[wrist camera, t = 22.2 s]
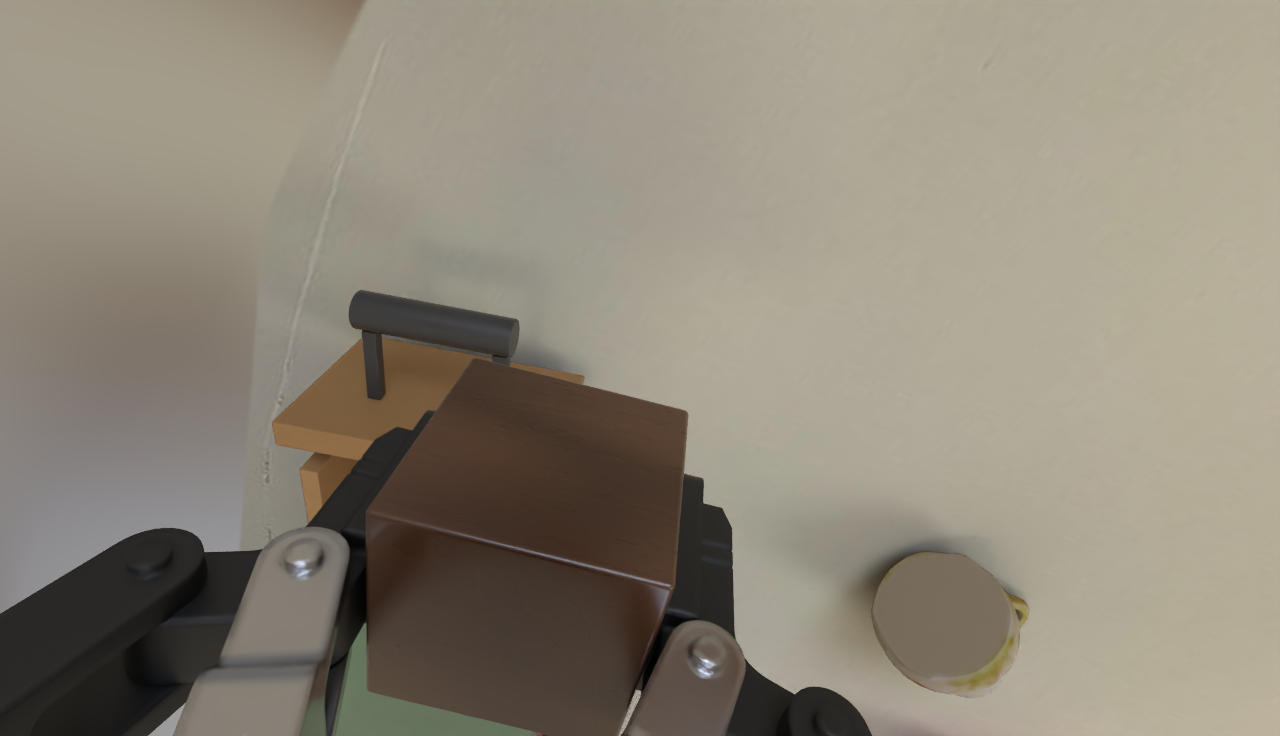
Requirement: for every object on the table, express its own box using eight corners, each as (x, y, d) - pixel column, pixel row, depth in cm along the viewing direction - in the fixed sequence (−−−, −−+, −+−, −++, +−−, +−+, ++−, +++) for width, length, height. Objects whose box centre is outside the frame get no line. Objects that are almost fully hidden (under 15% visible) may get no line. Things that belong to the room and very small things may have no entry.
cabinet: (372, 441, 37) (271, 568, 28) (582, 482, 36) (543, 621, 28) (386, 603, 44) (310, 741, 36) (561, 637, 44) (524, 784, 36)
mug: (912, 664, 42) (892, 768, 33) (880, 523, 41) (851, 590, 33) (1044, 670, 38) (1060, 789, 29) (1008, 515, 38) (1015, 589, 29)
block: (457, 514, 15) (364, 693, 11) (472, 354, 13) (362, 511, 9) (640, 559, 15) (612, 753, 11) (689, 409, 13) (676, 588, 9)
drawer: (357, 240, 29) (249, 311, 23) (595, 285, 29) (559, 369, 22) (381, 523, 39) (310, 632, 32) (561, 558, 39) (528, 675, 32)
